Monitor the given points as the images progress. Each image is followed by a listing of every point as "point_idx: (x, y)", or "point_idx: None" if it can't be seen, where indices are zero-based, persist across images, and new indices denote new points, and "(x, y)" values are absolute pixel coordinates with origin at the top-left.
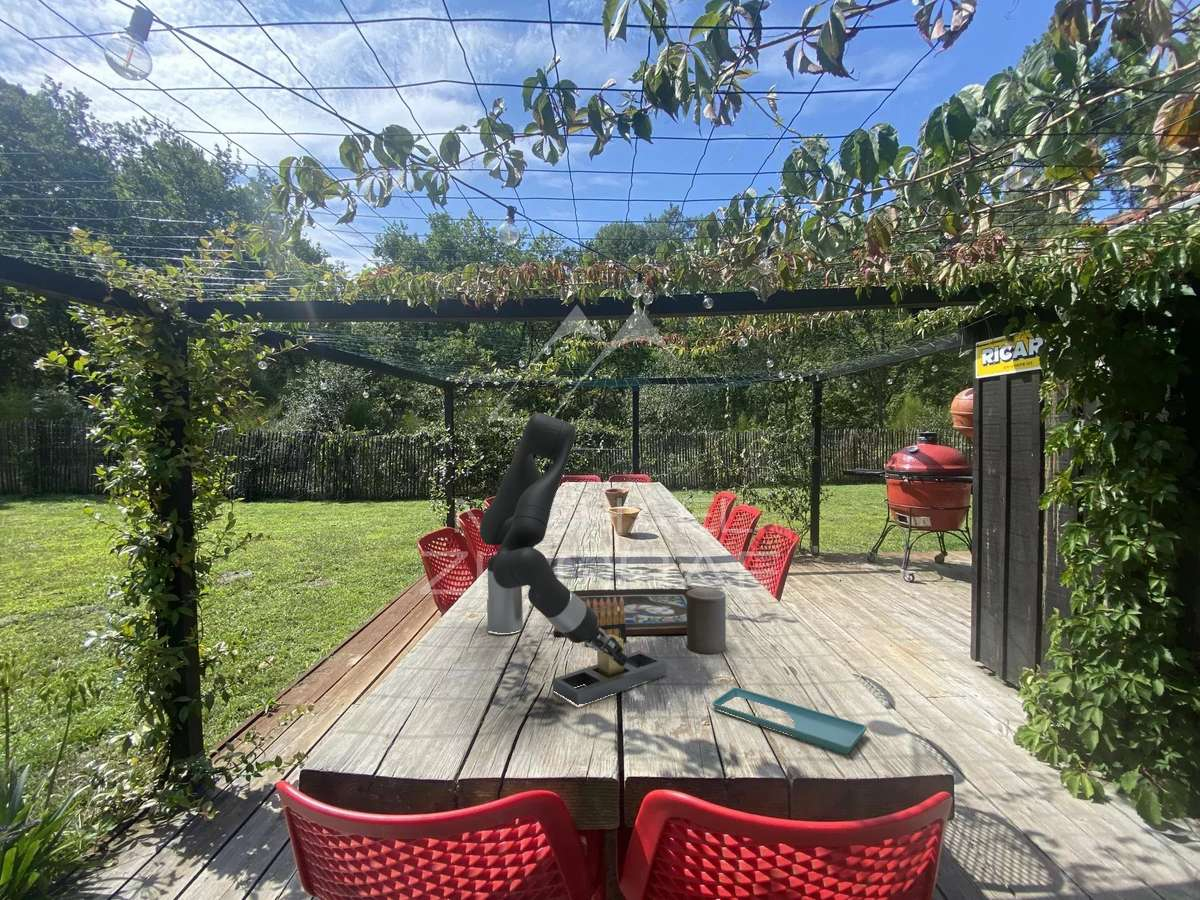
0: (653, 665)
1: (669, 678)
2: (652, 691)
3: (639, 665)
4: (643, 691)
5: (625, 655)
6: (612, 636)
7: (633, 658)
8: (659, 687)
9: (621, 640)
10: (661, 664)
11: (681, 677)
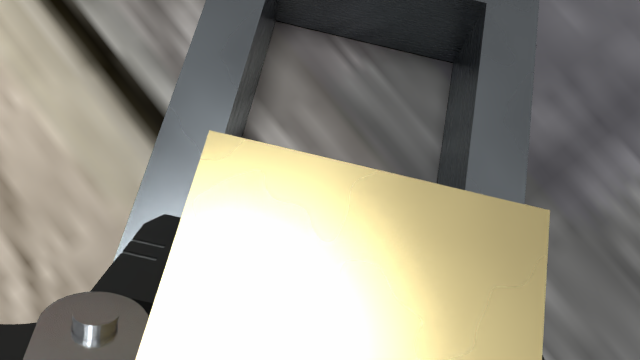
0: (517, 81)
1: (541, 71)
2: (606, 296)
3: (274, 23)
4: (564, 336)
5: (199, 38)
6: (301, 215)
7: (261, 27)
8: (593, 215)
9: (538, 252)
10: (533, 29)
11: (582, 24)
